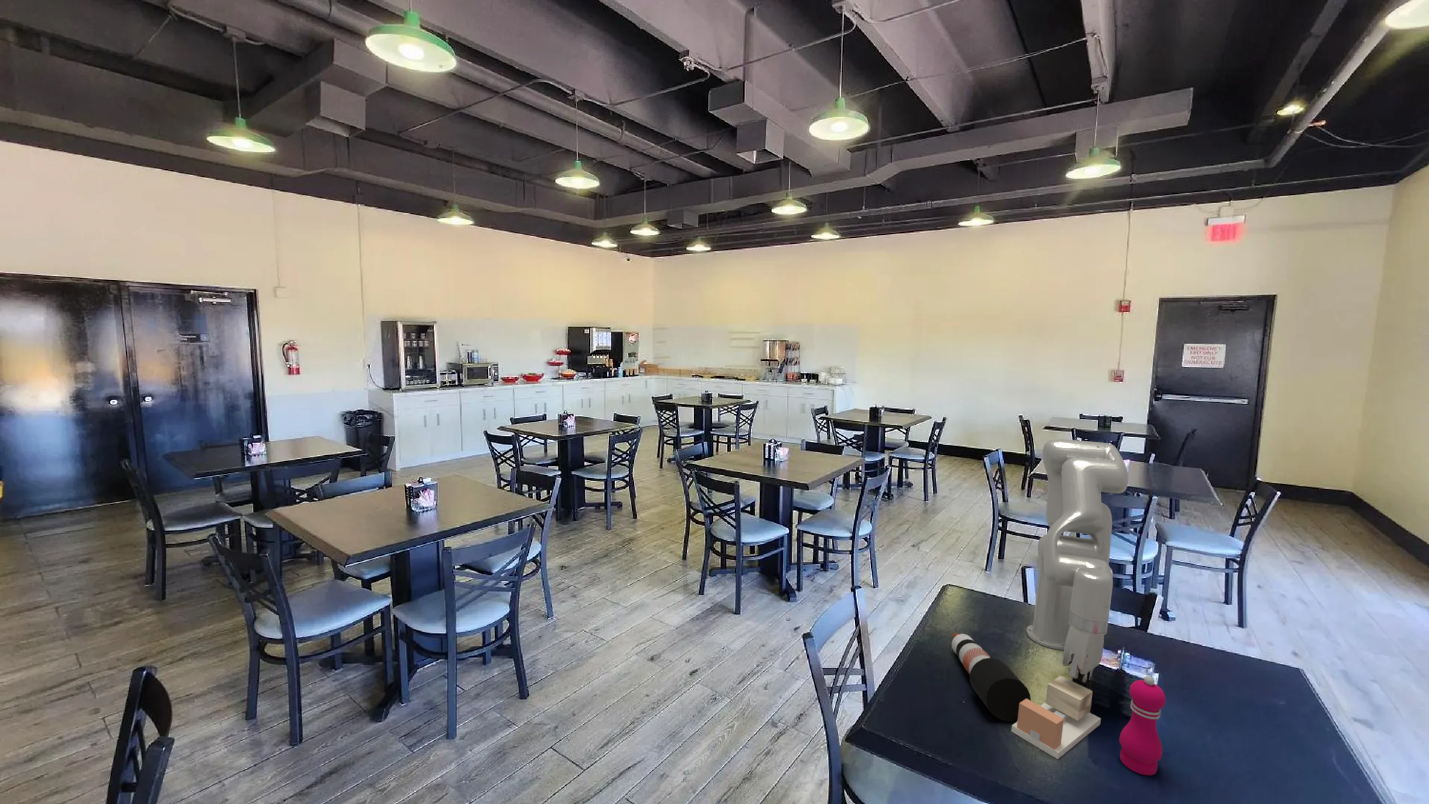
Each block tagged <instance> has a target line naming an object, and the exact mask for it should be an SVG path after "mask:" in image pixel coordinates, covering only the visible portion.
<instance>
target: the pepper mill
mask: <svg viewBox="0 0 1429 804" xmlns="http://www.w3.org/2000/svg"><path fill="white" fill-rule="evenodd" d="M1128 692H1129V696H1130V697H1131V701H1130V706H1129V707H1130V710H1132V713H1131V716H1130V720H1129V721H1128V723H1127V724H1126V725H1125V726H1124V727H1123V728H1122V730H1121V732H1120V735H1119V738H1118V739H1119V744H1120V746H1121V747H1122V748H1121V749H1120V753H1119V759H1120V761H1121V763H1122V764H1123V765H1124V766H1125V767H1126V768H1127V769H1129V770H1131V771H1133V772H1135V773H1137V774H1139V775H1140V774H1141V775H1142V776H1143V775H1144V776H1153V775H1155V774H1157V771H1158V762H1159V761H1160V760H1161V759H1162V756H1163V746H1162V742H1161V740H1160V737H1159V733H1158V730H1157V721H1158V719H1160V718H1161V712H1162V711H1161V709H1162V708H1164V707H1165V705H1166V701H1167V699H1166V695H1165V692H1164V690H1163V689H1162V688H1161V687H1160V686H1159V685H1157V684H1156V682H1155V679H1154V678H1153V677H1152V676H1151V675H1145V676H1144V678H1143V679H1139V680H1135V681H1133V682H1132V683H1131V684H1130V687H1129V691H1128Z"/></svg>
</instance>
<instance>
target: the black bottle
mask: <svg viewBox="0 0 1429 804" xmlns="http://www.w3.org/2000/svg"><path fill="white" fill-rule="evenodd" d="M951 636H952V641H951V647H952V650H953V651H954V653H955V654H956V656H957V658H958V659H959V660H960V662H961V663H962V665H963V667H964V669H965V670H966V671H967V673H968V675H969V683H970V685H971V688H972V689H973V690H974V692H975V693H976V694H977V696H978V697H979V698H980V700H981V701H982V703H983V704H984V705H985V707H986V708H987V710H988V711H989V712H990V713H991V714H992V715H993V716H994V717H995V718H997V719H1000V720H1002V721H1004V722H1005V721H1007V722H1014V721H1016V720H1017V721H1018V712H1019V703H1020V702H1022V701H1023V700H1025V699H1028V700H1030V701H1032V699H1031V693H1030V691H1029V689H1028V687H1027V686H1026V685H1025V684H1024V683H1023V681H1022V680H1021V679H1019V678H1018V676H1017V675H1016V674H1015V673H1014V672H1013V671H1012V670H1011V669H1010V667H1009V666H1008V665H1007V664H1006V663H1004V662H1003V661H1001V660H1000V659H998V658H994V657H991V655H989V654H988V652H986V650H984V649H983V647H981V646H980V645H979V644H978V643H977V642H976V641H974V639H973V638H972V637H971V636H970V635H968V634H965V633H960V634H959V633H958V632H954V634H951Z"/></svg>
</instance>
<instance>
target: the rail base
mask: <svg viewBox="0 0 1429 804" xmlns="http://www.w3.org/2000/svg"><path fill="white" fill-rule="evenodd" d="M1101 720H1102V718H1101V717H1099V716H1097V715H1095V714H1093V713H1091V712H1088V713H1087V714H1086V715H1085V716H1083V717H1082V718H1081V719H1079V720H1078V721H1077V720H1076V719H1074V718H1072V717H1070V716H1068V715H1066V714H1064V713H1062V712H1061V711H1059V710H1057V709H1055V708H1053V707H1051V706H1049V705H1048V704H1046V701H1045V702H1043V703H1042V704H1041V705H1039V704H1037V703H1035V702H1034V701H1032V700H1031V701H1030V700H1028V699H1025V700H1023V701H1022V702H1020V703H1019V712H1018V719H1017V721H1016V722H1015V723H1013V724H1012V725H1011V733H1013V734H1015V735H1017V736H1018V737H1020V738H1022V739H1023V740H1025V741H1027V742H1028V743H1030V744H1031V745H1033V746H1035V747H1037V748H1038V749H1040V750H1041V751H1043V752H1045V753H1046V754H1048V755H1050V756H1051V757H1053V758H1055V759H1056V760H1059V759H1060V758H1061V757H1063V756H1064V755H1065V754H1066V753H1067V752H1069V751H1070V750H1071V749H1072V748H1074V746H1076V745H1077V744H1079V743H1080V741H1082V740H1084V738H1085V737H1087V736H1088V735H1089V734H1090V733H1092V732H1093V731H1094V730H1095V729H1096V728H1098V727H1099V726H1100V725H1101Z"/></svg>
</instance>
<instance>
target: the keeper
mask: <svg viewBox="0 0 1429 804" xmlns="http://www.w3.org/2000/svg"><path fill="white" fill-rule="evenodd" d="M1045 698H1046V700H1045V702H1046V704H1048V705H1049V706H1051V707H1053V708H1055V709H1057V710H1059V711H1061V712H1062V713H1064V714H1066V715H1068V716H1070V717H1072V718H1074V719H1076V720H1077V721H1078V720H1079V719H1081V718H1082V717H1083V716H1085V715H1086V714H1087V713H1088V712H1089V713H1091V708H1092V698H1093V691H1092V690H1091V689H1087V688H1085V687H1083V686H1081V685H1079V684H1077V683H1075V682H1073V681H1072V680H1070V679H1068V678H1067V677H1064V676H1062V675H1059V676H1057V677H1056V678H1054V679H1053V680H1052V681H1050V682H1049V683H1047V689H1046V697H1045Z"/></svg>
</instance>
